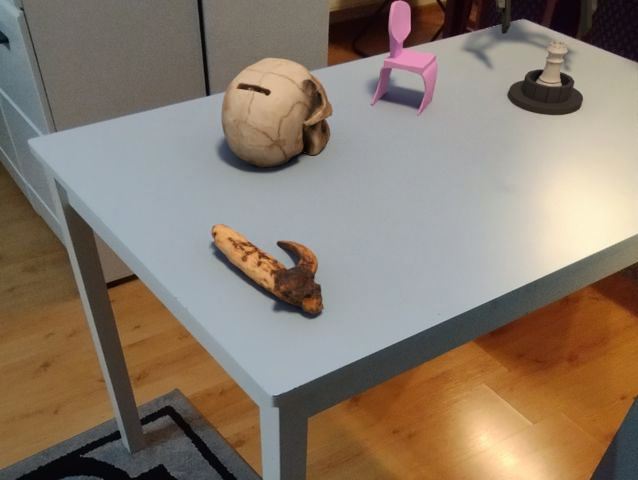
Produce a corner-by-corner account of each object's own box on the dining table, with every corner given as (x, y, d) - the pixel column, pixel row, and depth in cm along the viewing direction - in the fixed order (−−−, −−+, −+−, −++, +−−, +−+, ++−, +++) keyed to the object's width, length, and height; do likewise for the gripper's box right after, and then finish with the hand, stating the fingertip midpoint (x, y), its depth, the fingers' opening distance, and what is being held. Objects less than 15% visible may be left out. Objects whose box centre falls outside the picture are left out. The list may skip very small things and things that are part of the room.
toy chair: (419, 118, 108) (432, 17, 97) (368, 107, 110) (375, 7, 100) (436, 99, 113) (450, 1, 103) (387, 88, 116) (395, -8, 105)
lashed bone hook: (360, 297, 75) (258, 225, 84) (365, 262, 72) (258, 192, 81) (296, 332, 70) (195, 251, 79) (298, 296, 67) (193, 217, 76)
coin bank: (326, 117, 107) (327, 31, 96) (340, 183, 95) (341, 94, 85) (226, 123, 106) (216, 37, 95) (227, 191, 94) (216, 102, 84)
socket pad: (570, 85, 118) (576, 65, 116) (590, 115, 110) (596, 94, 107) (502, 84, 118) (506, 63, 116) (515, 113, 110) (520, 92, 107)
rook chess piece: (545, 85, 116) (557, 36, 110) (565, 95, 113) (579, 45, 107) (526, 91, 114) (538, 41, 108) (547, 101, 111) (560, 50, 106)
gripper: (610, -77, 119) (609, 43, 119) (468, -80, 119) (467, 39, 119) (630, -106, 112) (629, 21, 111) (479, -110, 112) (477, 17, 111)
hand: (546, 30), depth 115 cm, fingers open, 13 cm apart
